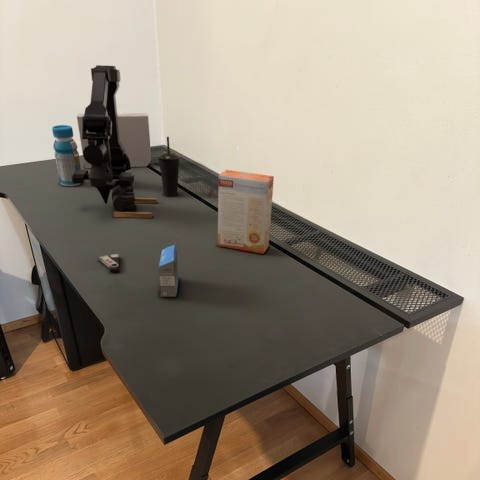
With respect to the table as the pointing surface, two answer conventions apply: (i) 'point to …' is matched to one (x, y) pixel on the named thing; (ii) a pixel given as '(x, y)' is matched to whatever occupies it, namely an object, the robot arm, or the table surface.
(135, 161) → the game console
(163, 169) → the drinking cup
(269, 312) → the table surface
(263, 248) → the cracker box
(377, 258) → the table surface
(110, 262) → the usb flash drive
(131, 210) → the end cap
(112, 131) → the robot arm
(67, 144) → the beverage bottle
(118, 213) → the brown flat block
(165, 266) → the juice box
